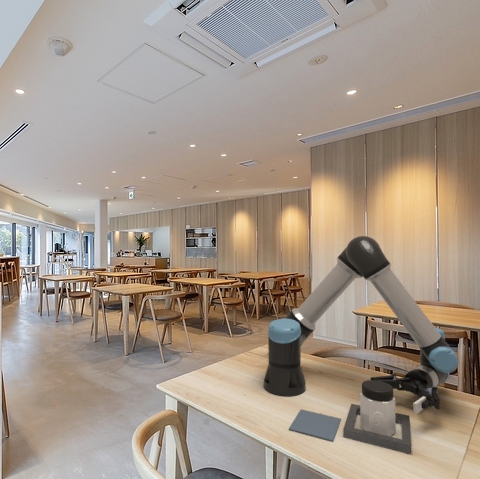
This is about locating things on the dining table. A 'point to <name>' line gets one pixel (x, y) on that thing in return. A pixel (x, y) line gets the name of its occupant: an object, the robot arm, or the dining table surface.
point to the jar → (377, 408)
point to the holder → (379, 439)
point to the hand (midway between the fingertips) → (389, 399)
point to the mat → (315, 425)
